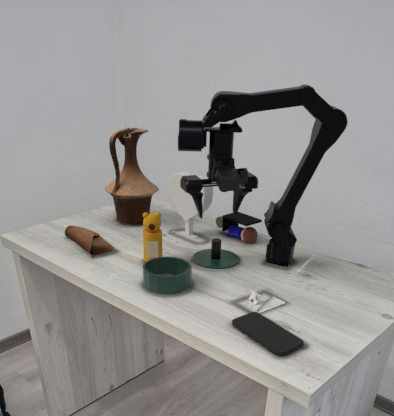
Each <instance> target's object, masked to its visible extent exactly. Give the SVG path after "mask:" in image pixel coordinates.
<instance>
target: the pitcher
mask: <svg viewBox="0 0 394 416" xmlns="http://www.w3.org/2000/svg"><path fill="white" fill-rule="evenodd" d="M146 133H149V130H148V129H145V128H138V127H132V128H131V127H129V126H128V127H124V128H120V129H117V130H115V131H113V132H112V133H111V135H110V137H109V140H108V141H109V142H108V148H109V152H110V156H111V160H112V163H113V167H114V172H115V178H114V179H112V180H111V182H109V183H107V184H106V185H105V186H104V191H105V192H106V193H107V194H109V195H110V196H111V197H112V199H113V204H114V209H115V214H116V215H115V217H116V221H117V222H118V223H120V224H122V225H126V226H127V225H128V226H139V225H143V220H144V218H143V213H145V212H147V213H148V214H151V205H152V204H151V203H152V198H153V196H154V194H155V193H157V192H158V191H160V188H159V186H157V185H156V184H154V183H153V182H151V180H150V179H148V178H147V177H146V175H145V174H144V173H143V172H142V170H141V167H140V166H139V161H138V155H137V153H138V152H137V148H138V142H139V140H140V137H141V136H142V135H144V134H146ZM117 140H118V142H119V143H120V144H121V145H122V146H123V147H124V161H123V167H122V169H121V171H120V163H119V159H118V155H117V154H118V153H117V148H116V143H117Z"/></svg>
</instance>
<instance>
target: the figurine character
mask: <svg viewBox="0 0 394 416" xmlns="http://www.w3.org/2000/svg"><path fill="white" fill-rule="evenodd" d="M259 223H260V224H261V223H263V219H261V218H259V217H255V216H252V215H249V214H247V213H243V212H240V211H238V212H237V214H236V216H234V215H233V212H231V213H226V214H223V215H221V216H220V215H219V216H217V217H216V218H215V224H216V226H217V227H218V229H221V232H222V233H223V234H224V235H228V236H233V237H236V238H239V239H241V241H242V242H243V243H244V244H249V245H250V244H253V243H255V242H256V241H257V240H258V235H259V234H258V231H257V229H256V228H254V227H252V225H257V224H259ZM239 225H241V226H239ZM242 226H244V227H242Z"/></svg>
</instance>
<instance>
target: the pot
mask: <svg viewBox="0 0 394 416" xmlns="http://www.w3.org/2000/svg"><path fill="white" fill-rule="evenodd" d="M192 271H193V265H192V263H190V261H188V260H187V259H186V258H185V259H184V258H181V257H177V256H163V257H157V258H153V259H150V260H148V261H147V262H145V261H144V263H143V265H142V279H143V280H142V281H143V282H142V283H143V286H144V288H145V289H146V290H148V291H150V292H151V293H155V294H158V295H176V294H181V293H182V292H184V291H187V290H188V289H189V288H190V287H191V285H192V278H193V277H192V276H193V275H192V273H193V272H192ZM165 274H171V275H165Z"/></svg>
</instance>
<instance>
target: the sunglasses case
mask: <svg viewBox="0 0 394 416" xmlns="http://www.w3.org/2000/svg"><path fill="white" fill-rule="evenodd" d="M64 236H65V237H66V238H68V239H69V240H71V241H73V242H74V243H75V244H76V245H78V246H79V247H80V248H81V249H83V250H84V251H85V252H86V253H88V254H89V255H90V256H92V257H93V258H94V257H97V256H100V255H105V254H109V253H115V252H116V251H117V250H116V248H115V247H114V246H113V245H112V244H111V243H110V242H108V241H107V240H106V239H104V238H103V237H102V236H101V234H100V233H97V232H96V231H94V230H90V229H88V228H85V227H83V226H78V225H67V227H65V229H64Z"/></svg>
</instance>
